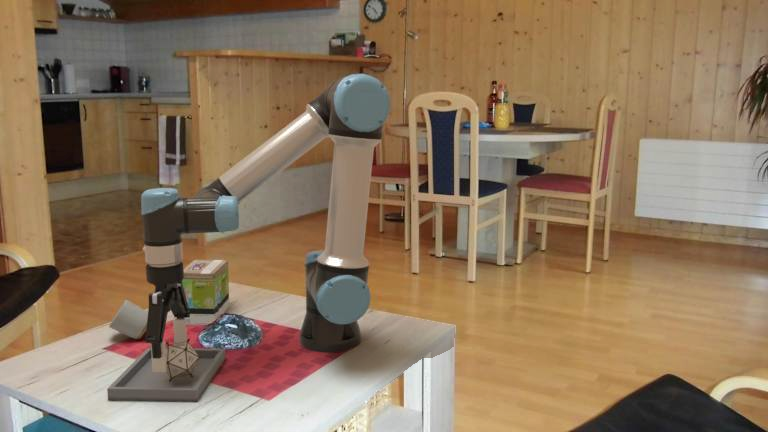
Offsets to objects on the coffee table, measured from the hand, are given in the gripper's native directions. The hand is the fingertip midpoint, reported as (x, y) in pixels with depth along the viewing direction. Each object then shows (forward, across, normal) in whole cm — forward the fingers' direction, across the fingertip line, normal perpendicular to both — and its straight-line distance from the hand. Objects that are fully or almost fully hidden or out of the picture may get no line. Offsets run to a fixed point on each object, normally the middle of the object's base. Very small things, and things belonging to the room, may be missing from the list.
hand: (171, 358), depth 148 cm
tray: (+4, 0, 0) cm, 4 cm away
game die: (+3, 0, 0) cm, 3 cm away
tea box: (+5, -40, -4) cm, 40 cm away
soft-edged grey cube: (+5, -25, -18) cm, 31 cm away
